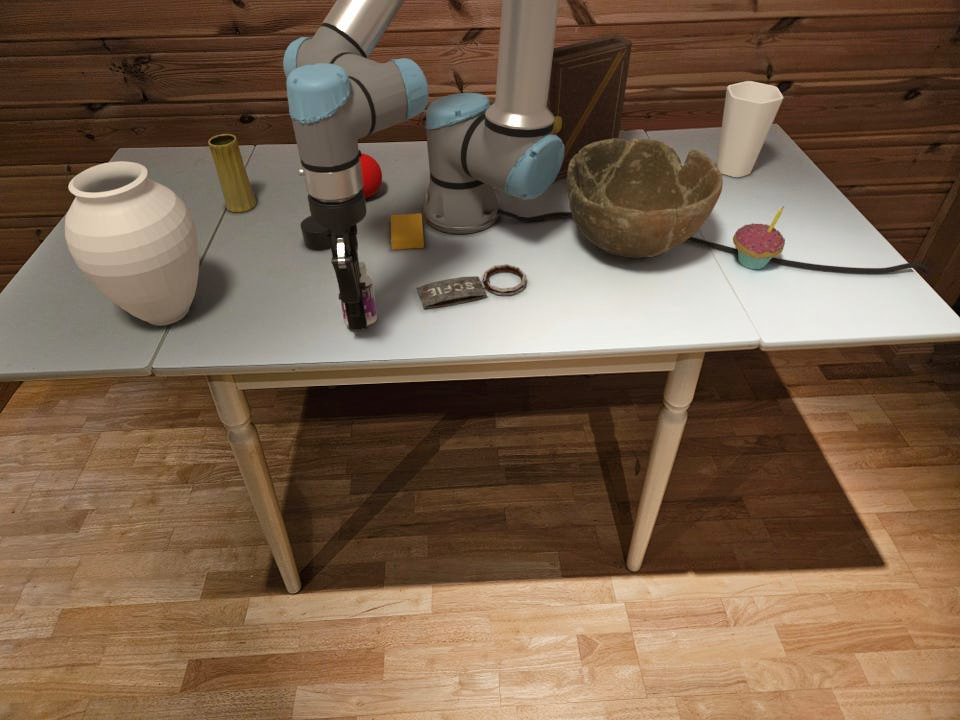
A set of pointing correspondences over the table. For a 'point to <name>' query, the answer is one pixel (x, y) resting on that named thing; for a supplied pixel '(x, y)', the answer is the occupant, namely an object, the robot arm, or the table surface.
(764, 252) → the cupcake
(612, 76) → the book
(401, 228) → the orange rectangular block
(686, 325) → the table surface
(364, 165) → the ornament
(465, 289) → the keychain
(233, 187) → the vase
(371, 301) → the pill bottle
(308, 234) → the metal tin
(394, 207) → the table surface
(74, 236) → the vase
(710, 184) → the bowl
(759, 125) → the cup
